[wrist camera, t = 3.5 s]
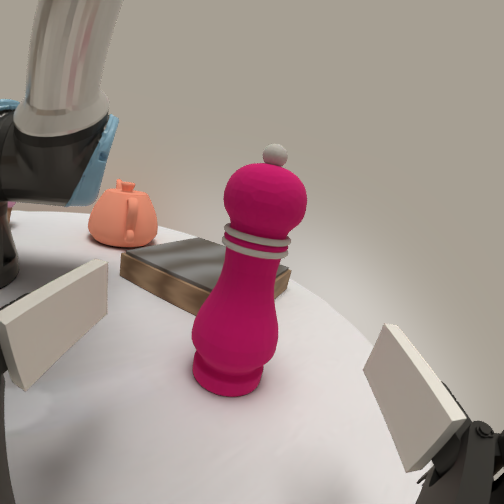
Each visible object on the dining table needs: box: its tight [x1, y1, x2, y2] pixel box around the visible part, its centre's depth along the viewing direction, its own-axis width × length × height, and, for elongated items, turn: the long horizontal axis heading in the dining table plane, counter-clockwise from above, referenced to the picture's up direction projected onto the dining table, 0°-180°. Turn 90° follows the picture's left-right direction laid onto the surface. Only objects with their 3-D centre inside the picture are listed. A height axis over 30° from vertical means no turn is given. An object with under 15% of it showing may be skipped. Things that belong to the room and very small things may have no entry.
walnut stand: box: [120, 238, 291, 316], centre depth 43 cm, size 20×20×4 cm
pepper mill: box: [192, 144, 307, 397], centre depth 21 cm, size 7×7×20 cm
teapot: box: [88, 179, 158, 247], centre depth 54 cm, size 22×16×12 cm
